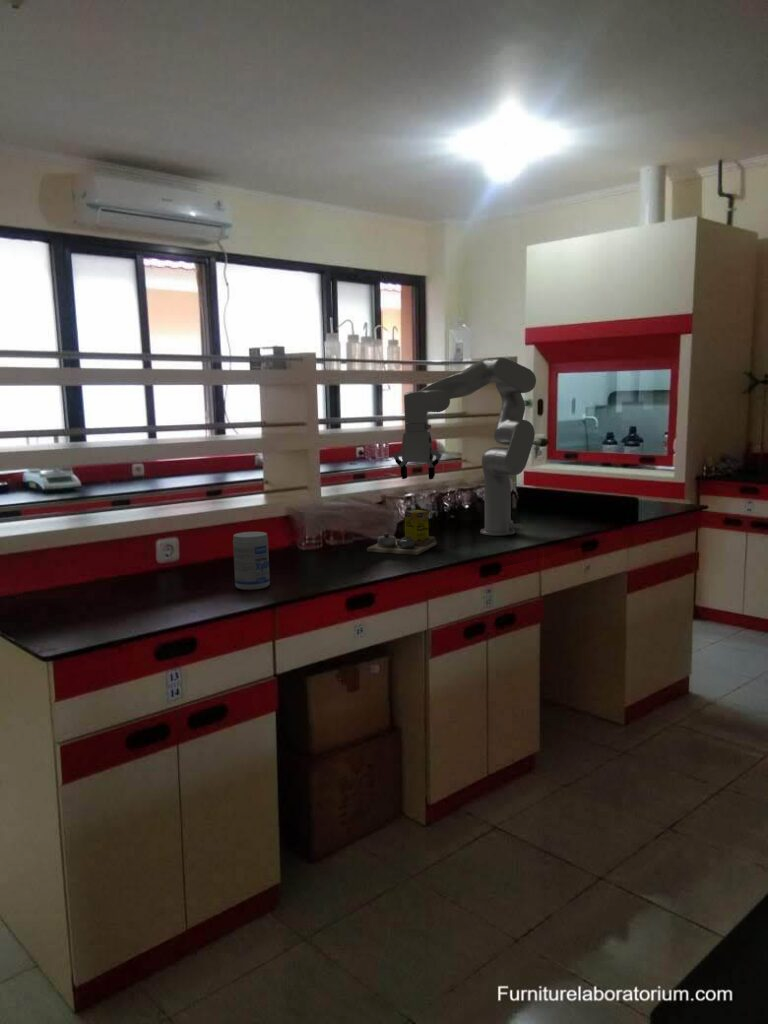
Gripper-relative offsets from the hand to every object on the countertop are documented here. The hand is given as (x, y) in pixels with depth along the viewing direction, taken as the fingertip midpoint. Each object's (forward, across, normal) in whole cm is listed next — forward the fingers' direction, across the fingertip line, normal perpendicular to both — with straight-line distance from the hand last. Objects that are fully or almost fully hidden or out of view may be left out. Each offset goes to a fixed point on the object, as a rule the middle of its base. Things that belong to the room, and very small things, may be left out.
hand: (417, 478), depth 266 cm
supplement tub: (+22, +24, +69) cm, 77 cm away
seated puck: (+21, 0, +12) cm, 25 cm away
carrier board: (+23, +4, +7) cm, 24 cm away
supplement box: (+22, 0, +3) cm, 22 cm away
